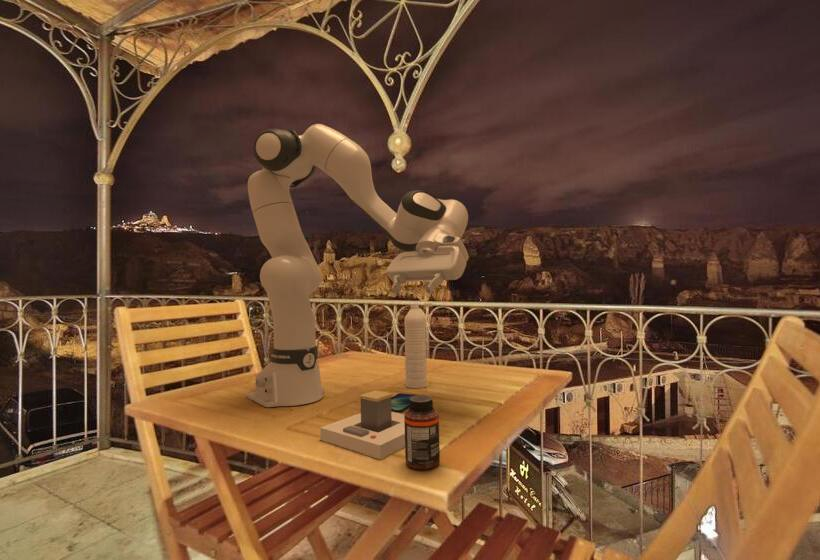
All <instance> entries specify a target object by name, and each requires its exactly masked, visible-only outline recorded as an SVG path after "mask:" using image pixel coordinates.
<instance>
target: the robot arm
mask: <svg viewBox="0 0 820 560" xmlns="http://www.w3.org/2000/svg"><path fill="white" fill-rule="evenodd" d="M252 152H253V156H254V158H255V160H256V161H257V162H258V163H259V165H260V166H261V167H262V169H261V170H257V171H255V172H254V173H252V174H251V175H250V176H249V177H248V179H247V180H248V181H247V191H248V200H249V204H250V208H251V211H252V215H253V219H254V223H255V225H256V229H257V233H258V236H259V239H260V241H261V243H262V245H264V247H265V248H266V249H267V251H268V253H269V255H270V256H271V258H269V259H268V260H267V261H265V263H264V264H263V265H262V267H261V268H260V273H259V280H260V284H261V286H262V288H263V289H264V290H265V292H266V294H267V299H268V303H269V306H270V311H271V315H272V323H273V324H272V325H273V348H272V349H269V350H268V355H270V358H269V363H268V364H267V365H266V366H264V367H263V369H261V371H259V372H258V373H257V374H256V376H255V384H254V386H255V387H254V388H255V389H253V390H251V391H249V392H247V393H246V395H245V396H246V397H245V398H248V399H249V400H251V401H253V402H255V403H257V404H258V405H261V406H262V407H265V408H273V407H274V408H275V407H291V406H292V407H293V406H302V405H306V404H312V403H315V402H318V401H320V400H321V399H322V398H323V397H324V395H323V394H324V393H325V388H324V387H322V379H321V372H320V371H321V370H320V365H319V363H318V362H317V359H319V355H318V354H319V350H318V346H317V345H316V344H317V341H316V330H317V329H316V317H315V314H314V312H313V309H312V304H311V301H310V295H311V294H313V293H314V292H316V290H317V289H319V287H320V286H321V284H322V281H323V272H322V269H321V268H320V266H319V265H318V263H317V261H316V259H315V257H314V254H313V252H312V251H311V248H310V246H309V244H308V242H307V240H306V238H305V235H304V233H303V232H302V229H301V225H300V222H299V218H298V215H297V211H296V209H295V206H294V202H293V199H292V196H291V192H290V188H296V187H298V186H299V185H300V184H302V183H305V182H306V181H307V180H310V178H312V176H313V175H314V174H315V172H316V169H317V168H318V169H320V170H322V171H323V172H324V173H325V174H326V175H328V176H329V177H330V178H331V179H333V180H334V181H335V182H336V183H337V184H338V185H339V186H340V187H341V189H343V192H345V193H346V195H347V196H348V198H349V199H350V200H351V202H352V203H353V204H354V205H355V207H357V208H358V209H359V210H360V211H361V212H362V213H363V214H364V215H365V216H367V217H368V218H369V219H370V220H371V221H372V222H373V223H374V224H375V225H376V226H377V227H379V229H380V230H381V231H383V232H384V233H385V234H386V236H387V237H388V239H389V240H390V242H391V243H392V245H394V247H396V248H398V250H402V251H404V252H400V253H399V254H397V255H396V256H395V257H394V258H393V260H392V261H391V262H390V263H389V265H388V266H387V268H386V269H385V272H386V275H387V276H388V279H390V281H391V282H393V284H392V286H391V290H392V291H393V293H401V291H402V290H403V286H402V285H401V284H403V283H404V282H421V281H423V282H424V281H425V282H426V281H427V282H426V284H425V285H424V290H425V291H426V293H433V292H434V291H435V289H436V288H437V287H439V286H440V285H441V284H443V283H444V281H455V280H458V279H460V278H461V277H462V276H463V274H464V272H465V269H466V267H467V262H468V261H469V259H470V256H469V253H468V251H467V249H466V246H465V244H464V243H463V241H462V237H463V236H464V235H463V234H464V233H465V232H466V228H467V226H468V223H469V222H468V221H469V214H468V213H469V212H468V209H467V208H466V206H465V205H464V204H463V203H462V202H460V201H459V200H456V199H440V198H437V197H436V196H434V195H433V194H431V193H429V192H427V191H424V190H411V191H408V192H406V193H405V194H403V196H402V198H401V201H400V204H399V205H398V209H397V212H396V211H394V209H392V208H391V207H390V206H389V205H388V204H387V203H385V202H384V201H383V200H382V199H381V197H380V196H379V195H378V193H377V191H376V190H375V189H376V188H375V185H374V182H373V181H374V179H373V177H372V176H373V175H372V173H373V172H372V165H371V160H370V158H369V155H368V154H367V152H366V151H365V150H364V149H363V148H362V147H361V145H359V144H358V143H356V142H355V141H354V140H352V139H350V138H349V137H348V136H346V135H344V134H343V133H341V132H340V131H338V130H335V129H334V128H332V127H329V126H327V125H324V124H322V123H315V124H312V125H311V126H309V127H308V128H307V129H306V130H305V131H304V133H303V134H301V135H299V134H298V133H297V132H296V131H295V130H293V129H292V130H288V129H281V128H280V129H278V128H267V129H264V130H262V131H260V132H259V133H257V135H256V136H255V137H254V139H253V144H252Z"/></svg>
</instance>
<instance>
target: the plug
mask: <svg viewBox="0 0 820 560" xmlns="http://www.w3.org/2000/svg"><path fill="white" fill-rule="evenodd" d="M391 397H393V394H392V393H390V392H385V391H380V390H373V391H369V392H366V393H362V394H360V395H359V399H360V413H361V428H363V429H367V430H370V431H374V432H378V433H379V432H381V431H383V430H385V429H388V428H390V427H392V416H391Z"/></svg>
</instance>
